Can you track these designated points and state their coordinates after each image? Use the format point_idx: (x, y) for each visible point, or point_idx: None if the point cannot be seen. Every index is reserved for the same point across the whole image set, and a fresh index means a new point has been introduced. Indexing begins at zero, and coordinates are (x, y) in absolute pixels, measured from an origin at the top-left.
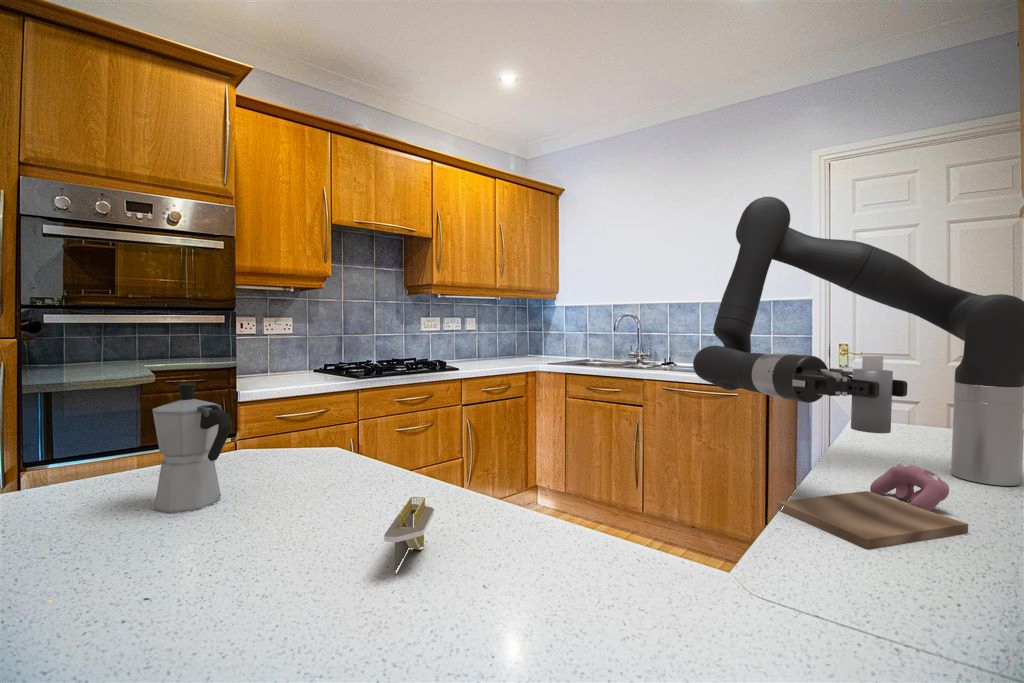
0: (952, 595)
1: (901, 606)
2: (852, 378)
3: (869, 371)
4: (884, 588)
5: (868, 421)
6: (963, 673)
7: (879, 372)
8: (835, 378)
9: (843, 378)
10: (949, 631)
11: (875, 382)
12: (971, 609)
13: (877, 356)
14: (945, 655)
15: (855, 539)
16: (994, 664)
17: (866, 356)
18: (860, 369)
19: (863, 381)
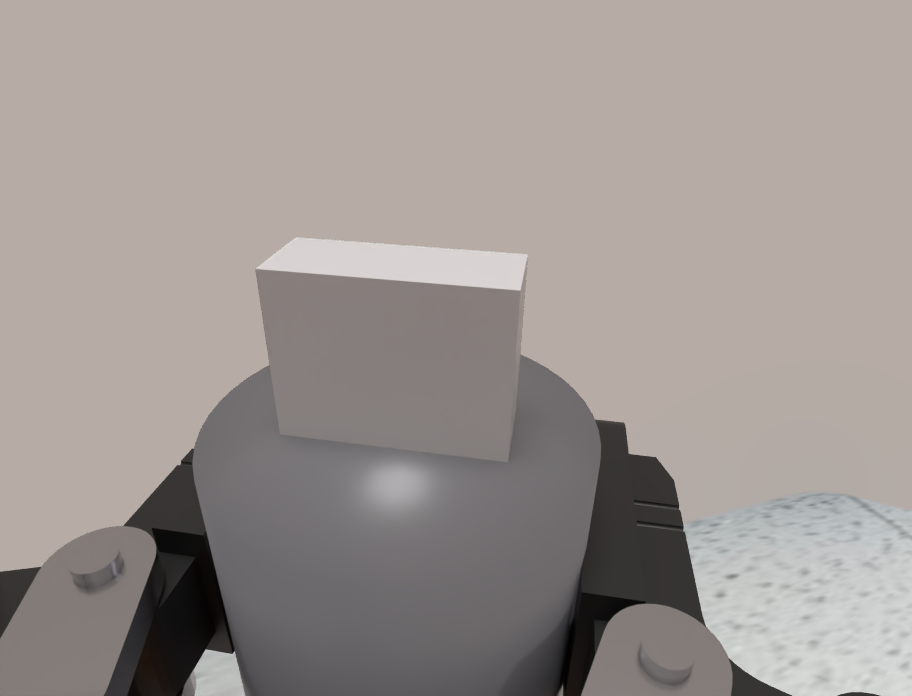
0: (708, 594)
1: (862, 616)
2: (527, 634)
3: (572, 392)
4: (846, 667)
5: None
6: (899, 509)
7: (521, 359)
8: (855, 692)
9: (718, 647)
10: (831, 550)
11: (608, 421)
12: (722, 561)
13: (395, 247)
14: (894, 530)
15: None
16: (833, 501)
17: (524, 273)
18: (427, 504)
19: (627, 488)
